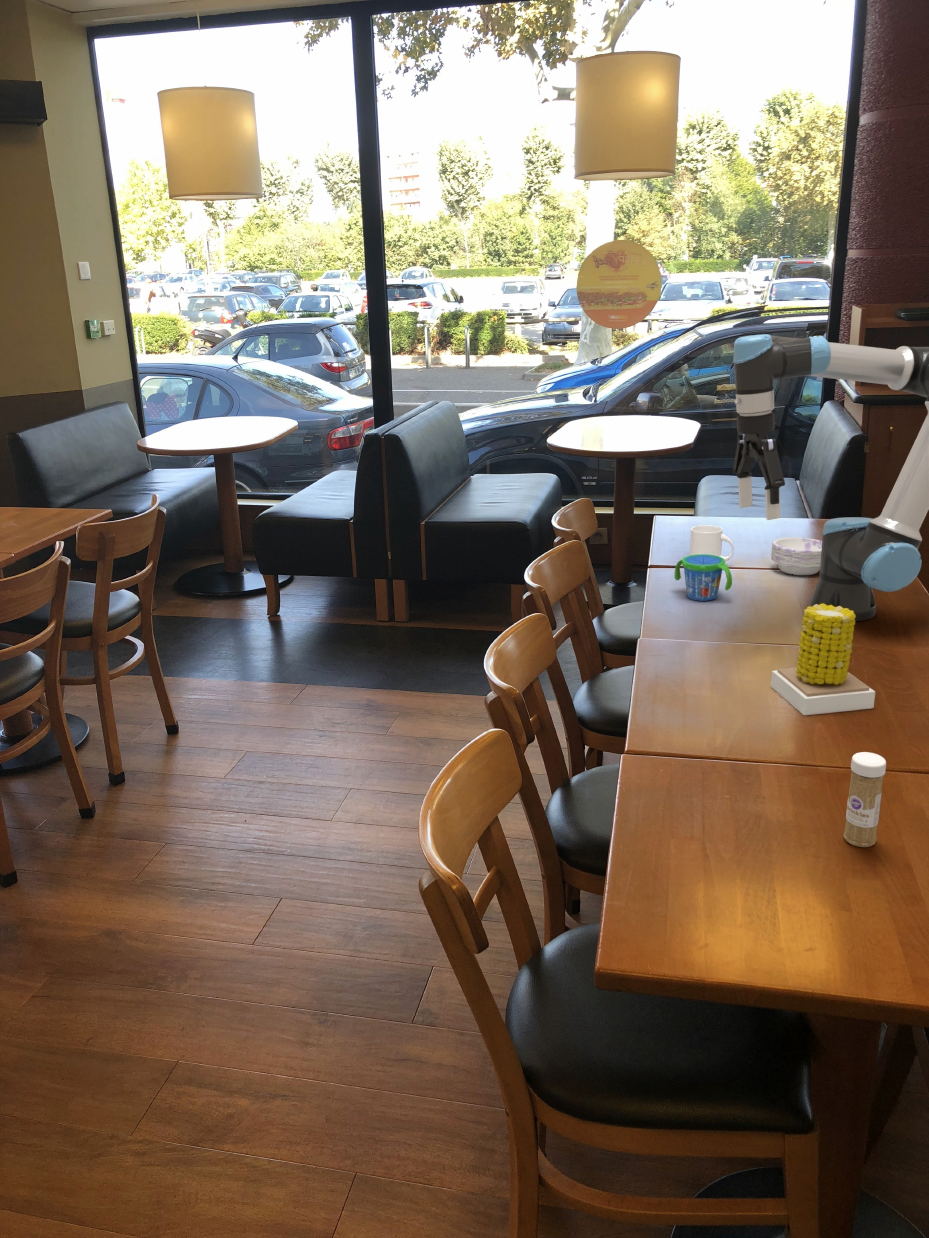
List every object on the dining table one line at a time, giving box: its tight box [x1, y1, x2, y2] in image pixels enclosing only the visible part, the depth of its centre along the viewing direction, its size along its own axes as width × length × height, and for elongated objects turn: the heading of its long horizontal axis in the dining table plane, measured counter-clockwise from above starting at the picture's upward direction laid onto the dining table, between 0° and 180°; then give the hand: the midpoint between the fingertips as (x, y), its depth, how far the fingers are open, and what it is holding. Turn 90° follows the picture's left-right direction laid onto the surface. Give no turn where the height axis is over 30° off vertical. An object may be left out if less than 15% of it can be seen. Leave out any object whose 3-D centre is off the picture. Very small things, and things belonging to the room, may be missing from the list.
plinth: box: [770, 666, 876, 716], centre depth 189 cm, size 14×14×4 cm
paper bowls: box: [770, 536, 822, 576], centre depth 267 cm, size 15×15×8 cm
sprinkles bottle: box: [843, 751, 887, 848], centre depth 140 cm, size 5×5×13 cm
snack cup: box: [673, 554, 733, 602], centre depth 248 cm, size 16×10×10 cm
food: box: [796, 603, 856, 685], centre depth 186 cm, size 15×12×10 cm
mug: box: [689, 524, 735, 562], centre depth 274 cm, size 9×12×11 cm
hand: (759, 512), depth 207 cm, fingers open, 13 cm apart
